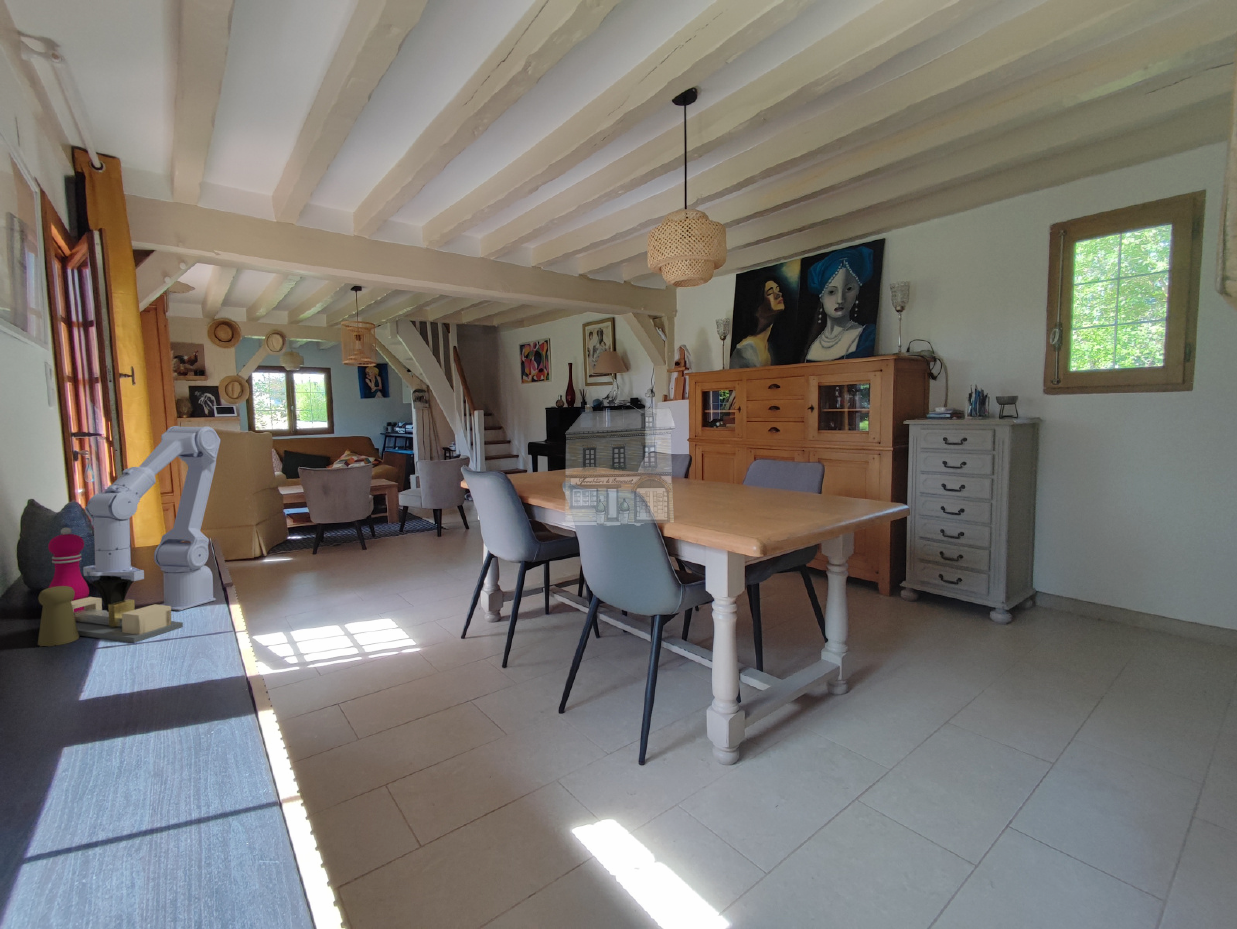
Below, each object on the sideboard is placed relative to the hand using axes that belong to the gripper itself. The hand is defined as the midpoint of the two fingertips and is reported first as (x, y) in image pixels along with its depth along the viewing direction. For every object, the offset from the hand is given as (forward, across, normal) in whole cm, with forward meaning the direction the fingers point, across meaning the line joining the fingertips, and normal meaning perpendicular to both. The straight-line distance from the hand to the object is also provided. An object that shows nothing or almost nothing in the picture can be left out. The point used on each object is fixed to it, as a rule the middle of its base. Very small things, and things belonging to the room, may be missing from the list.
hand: (114, 610), depth 123 cm
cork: (+4, -3, -8) cm, 10 cm away
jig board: (+4, 0, 0) cm, 4 cm away
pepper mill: (+4, -22, +5) cm, 23 cm away
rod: (+3, -2, 0) cm, 3 cm away
